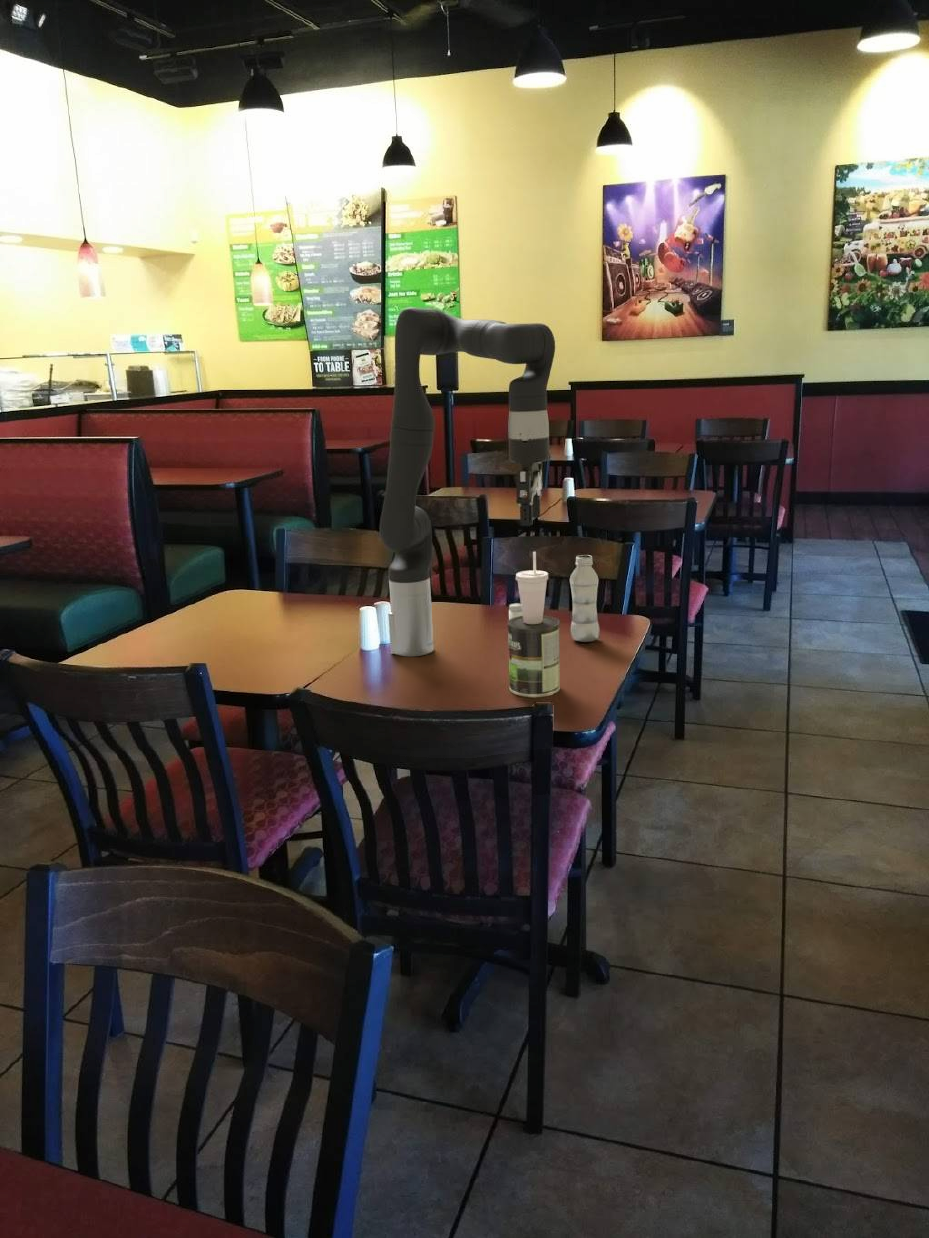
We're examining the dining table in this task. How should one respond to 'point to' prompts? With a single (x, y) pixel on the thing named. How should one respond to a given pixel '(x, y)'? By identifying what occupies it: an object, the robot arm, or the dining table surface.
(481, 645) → the dining table surface
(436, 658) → the dining table surface
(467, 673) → the dining table surface
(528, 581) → the smoothie
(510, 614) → the salt shaker
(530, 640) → the coffee can
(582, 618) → the plastic bottle
